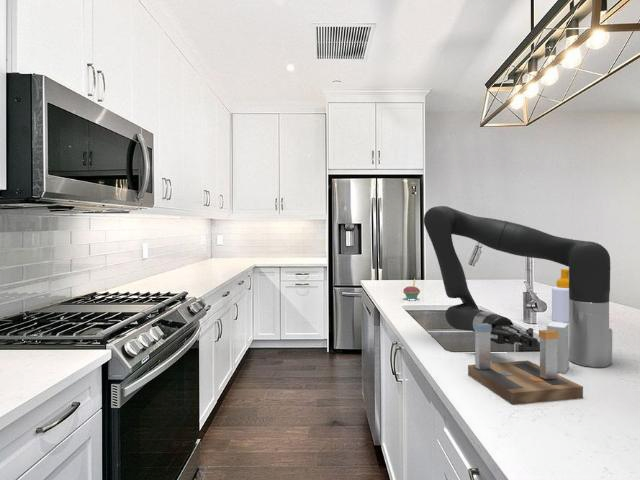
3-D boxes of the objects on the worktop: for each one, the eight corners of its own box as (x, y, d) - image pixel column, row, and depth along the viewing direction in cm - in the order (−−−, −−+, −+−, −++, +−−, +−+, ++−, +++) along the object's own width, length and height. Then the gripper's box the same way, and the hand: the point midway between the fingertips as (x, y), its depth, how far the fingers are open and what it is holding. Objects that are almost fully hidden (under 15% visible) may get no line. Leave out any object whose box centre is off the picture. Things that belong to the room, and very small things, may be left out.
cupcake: (422, 299, 214) (421, 276, 214) (416, 301, 207) (416, 278, 207) (406, 298, 219) (406, 275, 219) (400, 300, 212) (400, 277, 211)
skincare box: (550, 364, 111) (551, 320, 110) (569, 367, 108) (569, 322, 108) (546, 370, 106) (546, 325, 106) (565, 374, 103) (565, 327, 103)
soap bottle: (569, 324, 155) (570, 271, 155) (546, 320, 162) (546, 270, 161) (582, 319, 164) (582, 268, 163) (560, 316, 170) (560, 267, 169)
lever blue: (486, 365, 102) (486, 323, 102) (491, 368, 100) (491, 325, 100) (474, 366, 101) (474, 323, 101) (479, 369, 99) (478, 326, 99)
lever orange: (551, 375, 95) (551, 329, 95) (558, 378, 93) (558, 331, 93) (538, 376, 94) (538, 330, 94) (545, 379, 92) (545, 332, 92)
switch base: (527, 369, 107) (527, 359, 107) (583, 397, 89) (583, 385, 89) (468, 374, 104) (468, 364, 104) (512, 404, 86) (512, 392, 86)
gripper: (471, 314, 114) (510, 329, 97) (513, 312, 116) (559, 326, 99) (471, 341, 114) (510, 361, 97) (513, 338, 116) (559, 357, 99)
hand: (535, 343), depth 98 cm, fingers closed
